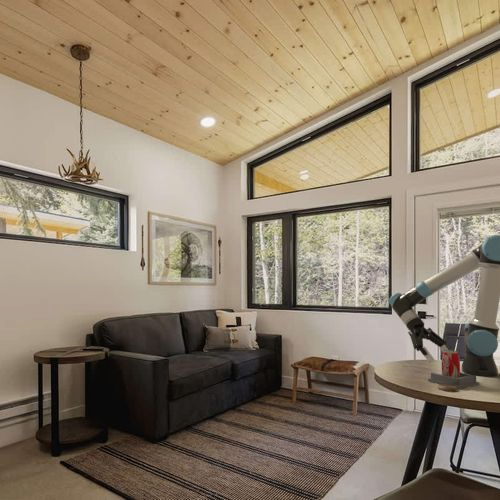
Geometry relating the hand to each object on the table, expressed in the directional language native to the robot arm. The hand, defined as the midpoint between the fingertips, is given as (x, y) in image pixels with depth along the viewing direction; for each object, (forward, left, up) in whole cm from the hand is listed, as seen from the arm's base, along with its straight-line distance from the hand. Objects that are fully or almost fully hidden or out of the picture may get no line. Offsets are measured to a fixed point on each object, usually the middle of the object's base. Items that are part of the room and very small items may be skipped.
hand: (442, 360), depth 175 cm
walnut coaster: (+11, +10, -9) cm, 17 cm away
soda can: (0, +4, -8) cm, 9 cm away
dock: (0, +5, -9) cm, 10 cm away
